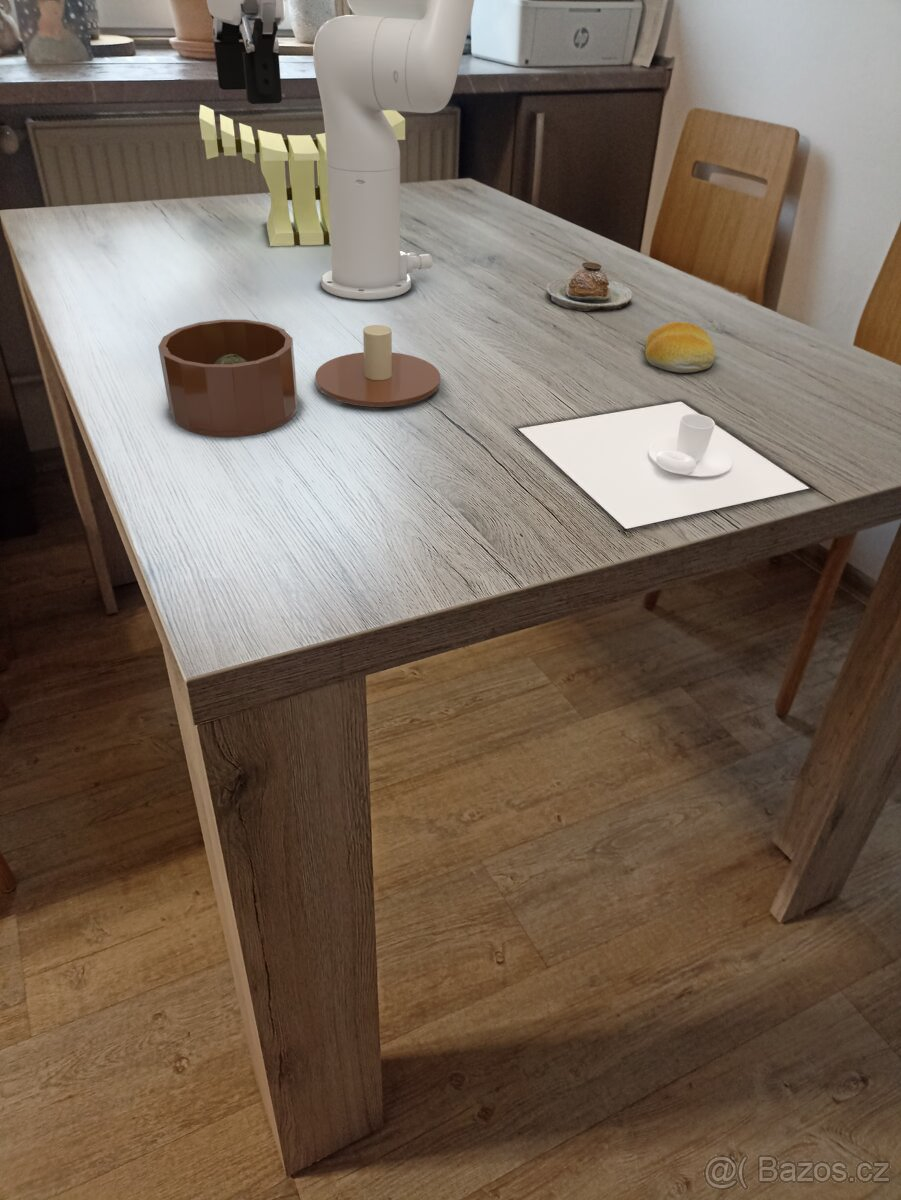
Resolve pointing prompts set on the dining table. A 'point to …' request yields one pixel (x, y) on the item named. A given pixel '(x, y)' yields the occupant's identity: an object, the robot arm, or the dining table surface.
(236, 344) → the pot
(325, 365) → the lid
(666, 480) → the teacup and saucer
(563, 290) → the pastry
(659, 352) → the bread roll
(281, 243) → the slatted curved stool
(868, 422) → the dining table surface
